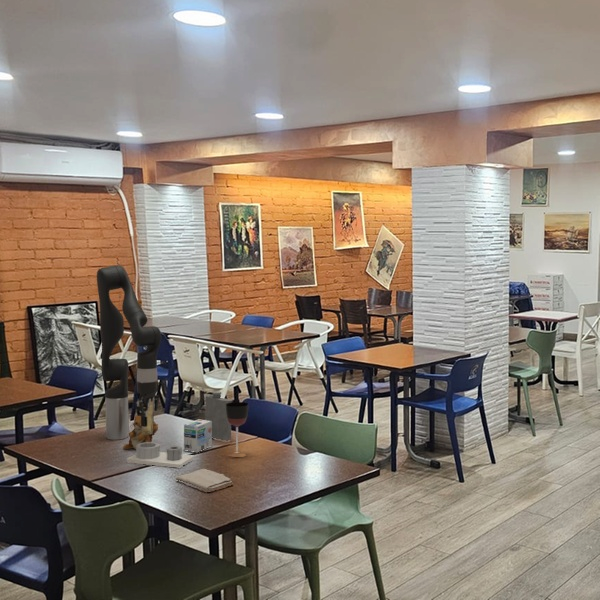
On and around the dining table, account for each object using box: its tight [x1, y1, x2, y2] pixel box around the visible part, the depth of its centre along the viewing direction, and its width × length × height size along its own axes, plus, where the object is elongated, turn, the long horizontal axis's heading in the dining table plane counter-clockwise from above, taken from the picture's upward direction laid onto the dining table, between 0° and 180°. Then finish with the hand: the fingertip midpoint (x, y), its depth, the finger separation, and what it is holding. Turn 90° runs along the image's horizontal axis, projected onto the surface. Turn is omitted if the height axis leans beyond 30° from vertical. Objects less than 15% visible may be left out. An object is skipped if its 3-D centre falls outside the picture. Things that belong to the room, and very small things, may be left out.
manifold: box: [126, 441, 196, 467], centre depth 258 cm, size 22×12×6 cm, turn 72°
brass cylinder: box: [142, 402, 153, 435], centre depth 259 cm, size 4×4×12 cm
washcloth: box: [175, 468, 233, 490], centre depth 234 cm, size 12×18×3 cm, turn 48°
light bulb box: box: [183, 418, 213, 453], centre depth 274 cm, size 11×7×11 cm, turn 154°
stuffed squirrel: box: [122, 414, 159, 450], centre depth 277 cm, size 10×14×13 cm
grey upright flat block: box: [204, 391, 232, 441], centre depth 289 cm, size 16×4×20 cm, turn 43°
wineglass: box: [226, 401, 249, 453], centre depth 266 cm, size 8×9×20 cm
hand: (147, 424), depth 259 cm, fingers closed on brass cylinder, 4 cm apart
